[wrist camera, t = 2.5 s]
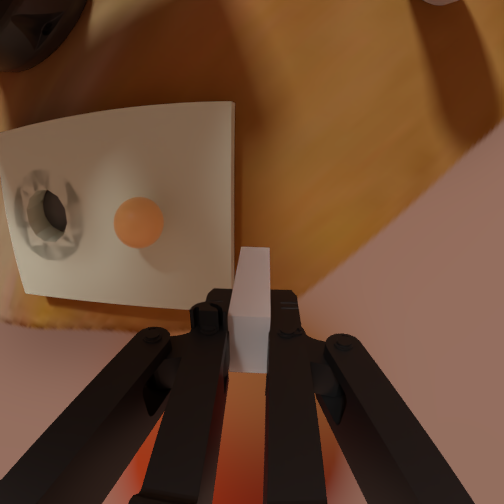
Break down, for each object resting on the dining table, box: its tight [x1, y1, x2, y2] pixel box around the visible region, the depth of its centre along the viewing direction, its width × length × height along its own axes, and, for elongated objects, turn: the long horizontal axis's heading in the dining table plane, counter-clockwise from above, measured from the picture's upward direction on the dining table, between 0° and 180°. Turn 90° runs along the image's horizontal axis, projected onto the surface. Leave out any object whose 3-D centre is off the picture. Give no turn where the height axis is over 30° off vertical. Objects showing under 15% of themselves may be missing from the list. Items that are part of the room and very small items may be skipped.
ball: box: [114, 197, 164, 249], centre depth 24 cm, size 4×4×4 cm
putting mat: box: [0, 101, 235, 310], centre depth 27 cm, size 18×24×3 cm
